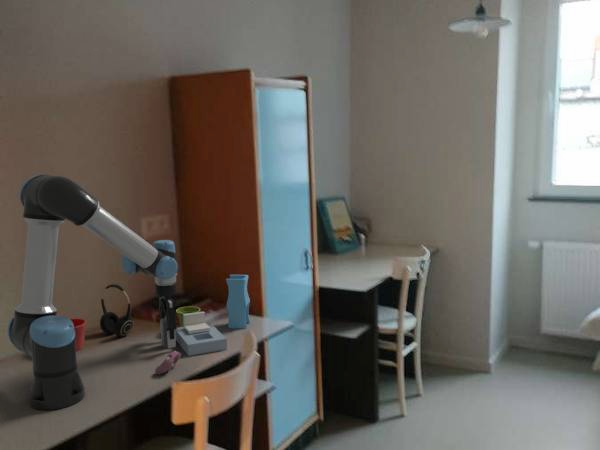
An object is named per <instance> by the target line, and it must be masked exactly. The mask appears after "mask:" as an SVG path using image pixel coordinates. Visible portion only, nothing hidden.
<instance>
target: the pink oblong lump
mask: <svg viewBox="0 0 600 450" xmlns="http://www.w3.org/2000/svg"><path fill="white" fill-rule="evenodd" d="M181 357H182V353H181V352H180V351H176V350H174V351H172V352H170V353H168V354H167V356H166V358H165V359H164V360H163V362H162V363H161V364H160V365H158V366H157V367H156V368H155V370H154V372H155V375H163V374H164V373H166V372H167V373H169V372H171V370H172V369H173V368H175V367H176V364H177V362H178V361H179V359H180V358H181Z"/></svg>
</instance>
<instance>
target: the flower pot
mask: <svg viewBox="0 0 600 450" xmlns="http://www.w3.org/2000/svg"><path fill="white" fill-rule="evenodd" d="M69 319H70V320H71V321H72V322H73V325H74V330H75V345H76V352H78V351H80V350H82V349H83V348H84V345H85V339H86V338H85V337H86V327H87V320H85V319H84V318H74V317H73V318H69Z"/></svg>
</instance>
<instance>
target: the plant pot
mask: <svg viewBox="0 0 600 450" xmlns="http://www.w3.org/2000/svg"><path fill="white" fill-rule="evenodd" d="M197 312H201V308H200V307H198V306H193V305H191V306H190V305H189V306H183V307H182V306H181V307H178V308H177V309H176V310H175V313H176V314H177V318H178V322H179V328H180V327H183V314H189V313H197Z"/></svg>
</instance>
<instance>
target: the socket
mask: <svg viewBox="0 0 600 450" xmlns="http://www.w3.org/2000/svg"><path fill="white" fill-rule="evenodd" d="M206 324H207V325H208V326H209V327H210V331H206V332H199V333H192V334H188V332H187V331H186V330H185V329H184V328H183V327H180V326H179V327H177V329H176V330H175V337H176V342H177V343H178V344H179V346H180V347H181V348H182V350H183V351H184V352H185V353H186V355H187V356H189V357H190V356H196V355H197V356H198V355H202V354H208V353H213V352H219V351H220V352H221V351H226V350H227V349H228V343H227V342H228V341H227V337H226V336H224V335H223V334H222V333H221V332H220V331H219V330H218V329H217V328H216V327H215V326H214V325H213V324H212V323H211V322H209V323H206Z"/></svg>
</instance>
